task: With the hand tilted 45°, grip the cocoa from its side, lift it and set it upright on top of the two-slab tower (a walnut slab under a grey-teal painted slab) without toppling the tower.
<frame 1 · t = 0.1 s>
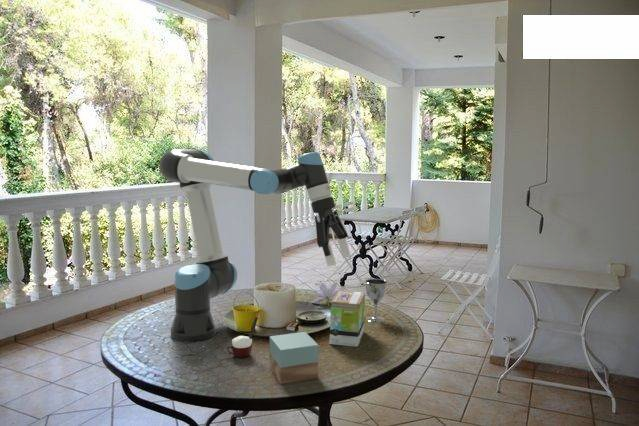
hand: (339, 261, 166), 28 cm above the table, tool tilted 20°, fingers open, 13 cm apart
cocoa: (242, 356, 158), on the table
tea box: (347, 338, 174), on the table
wine glass: (375, 320, 194), on the table
tower top: (293, 357, 146), point 5 cm above the table, touching tower base
tower base: (293, 373, 147), on the table, touching tower top
water lily: (327, 305, 212), on the table
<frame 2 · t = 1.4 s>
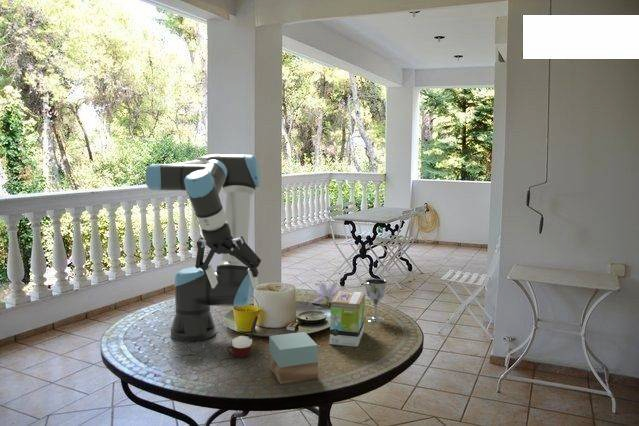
hand: (235, 285, 151), 24 cm above the table, tool tilted 25°, fingers open, 13 cm apart
nothing on the table moved.
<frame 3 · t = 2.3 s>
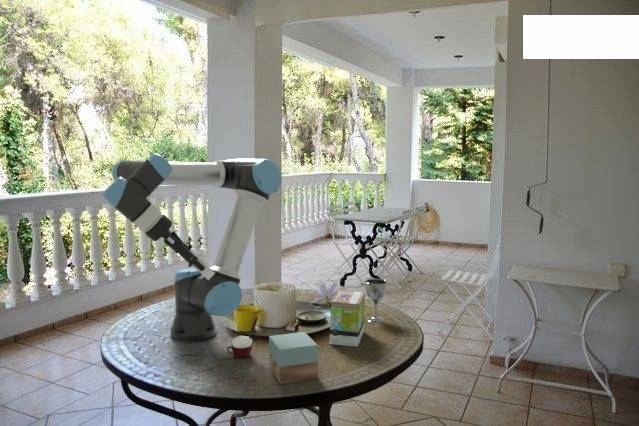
hand: (207, 271, 151), 28 cm above the table, tool tilted 45°, fingers open, 13 cm apart
nothing on the table moved.
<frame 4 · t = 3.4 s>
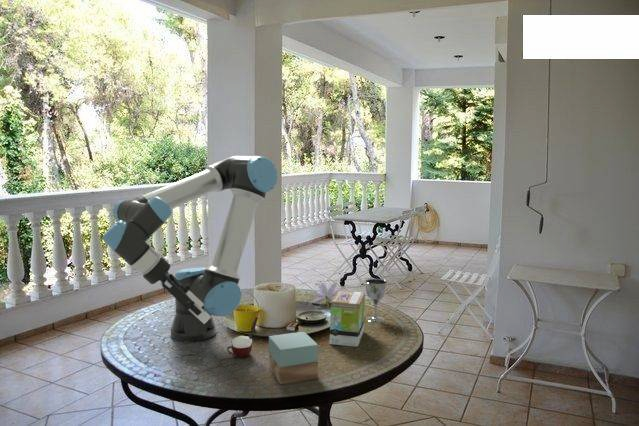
hand: (204, 313, 152), 15 cm above the table, tool tilted 45°, fingers open, 13 cm apart
nothing on the table moved.
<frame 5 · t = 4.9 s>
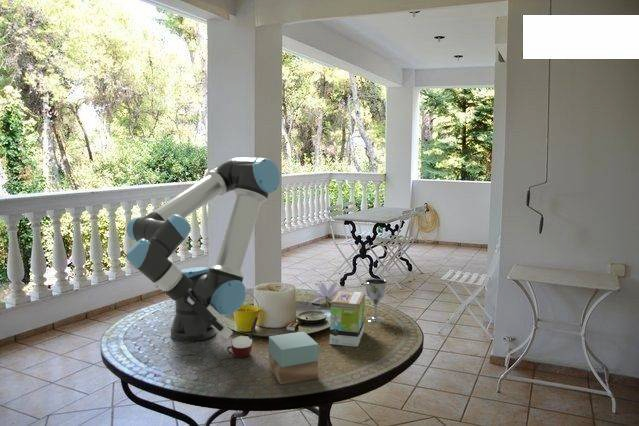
hand: (225, 328, 154), 10 cm above the table, tool tilted 45°, fingers open, 13 cm apart
nothing on the table moved.
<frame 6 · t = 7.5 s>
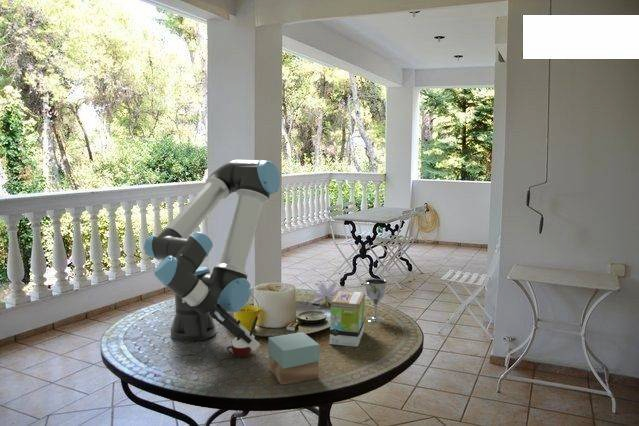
hand: (254, 343, 159), 3 cm above the table, tool tilted 45°, fingers closed on cocoa, 6 cm apart
cocoa: (242, 356, 158), on the table, touching gripper
everything else where it was.
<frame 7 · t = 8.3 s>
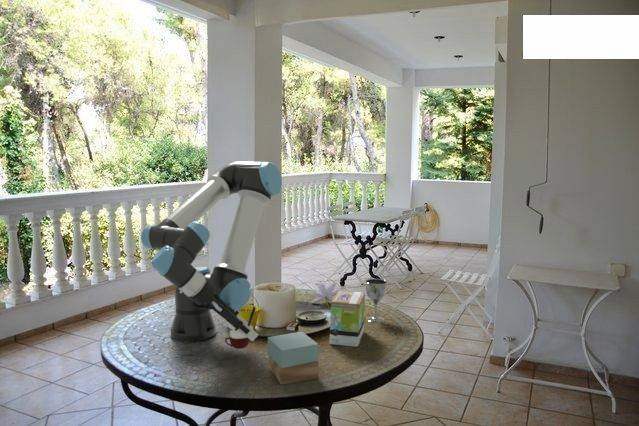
hand: (252, 334, 158), 7 cm above the table, tool tilted 45°, fingers closed on cocoa, 6 cm apart
cocoa: (241, 347, 157), point 3 cm above the table, touching gripper
everything else where it was.
when the fingers open (15 cm above the table, at t = 14.8 s): cocoa drops 2 cm, resting on tower top.
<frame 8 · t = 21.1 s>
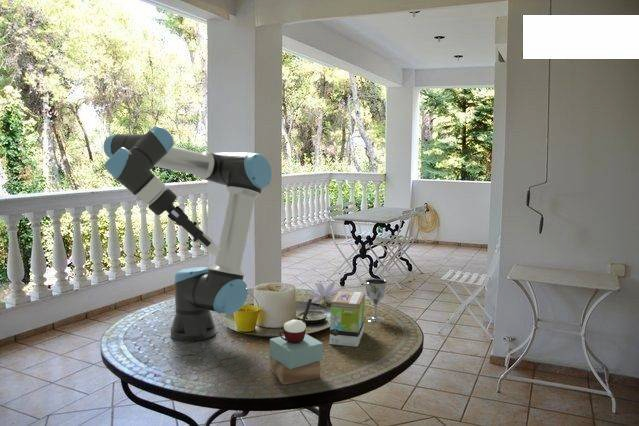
hand: (213, 247, 145), 36 cm above the table, tool tilted 45°, fingers open, 13 cm apart
cocoa: (295, 341, 145), point 9 cm above the table, touching tower top
tower top: (296, 357, 146), point 5 cm above the table, touching cocoa, tower base
at the end: cocoa inside the target area on the tower base (0.4 cm from its centre), point 9.8 cm above the tower base's base; cocoa tilted 0°; tower top 0.4 cm from the tower base (horizontally) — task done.
